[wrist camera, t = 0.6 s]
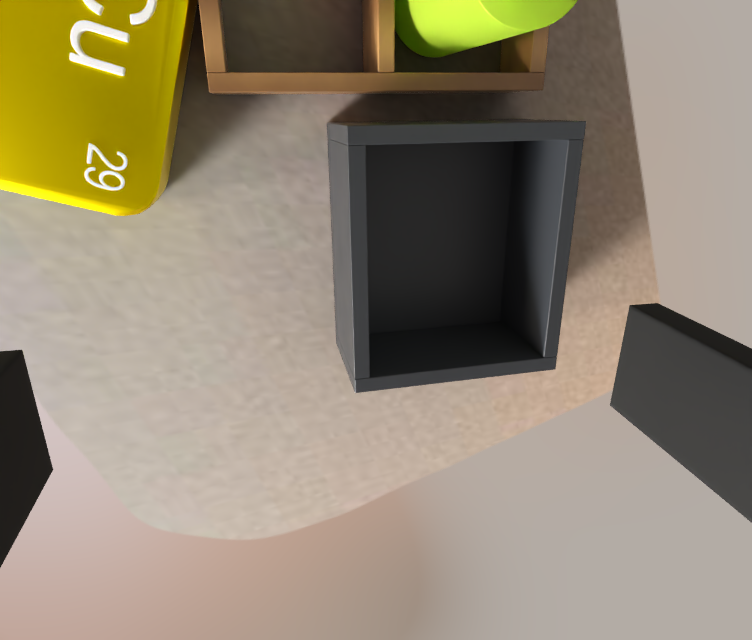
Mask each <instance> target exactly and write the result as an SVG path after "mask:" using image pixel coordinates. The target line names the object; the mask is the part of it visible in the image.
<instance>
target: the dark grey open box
mask: <svg viewBox="0 0 752 640" xmlns="http://www.w3.org/2000/svg"><path fill="white" fill-rule="evenodd" d="M585 126H586V121H567V120H533V119H504V120H446V121H389V122H331V123H327V133H328V157H329V180H330V204H331V227H332V250H333V274H334V297H335V321H336V343H337V346H338V348H339V351H340V354H341V356H342V359H343V362H344V364H345V367H346V370H347V372H348V375H349V378H350V381H351V383H352V386H353V389H354V391H355V393H359V392H367V391H376V390H384V389H392V388H401V387H409V386H418V385H426V384H435V383H443V382H452V381H460V380H469V379H477V378H486V377H494V376H503V375H511V374H520V373H528V372H536V371H545V370H553V369H555V367H556V359H557V357H556V356H557V352H558V344H559V335H560V327H561V319H562V311H563V303H564V295H565V287H566V279H567V271H568V263H569V255H570V246H571V238H572V230H573V222H574V214H575V206H576V198H577V190H578V182H579V174H580V166H581V157H582V149H583V141H584V140H583V139H584V135H585Z"/></svg>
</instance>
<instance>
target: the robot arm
mask: <svg viewBox="0 0 752 640" xmlns="http://www.w3.org/2000/svg"><path fill="white" fill-rule="evenodd" d="M610 406H612V407H613V408H614V409H615V410H616V411H618V412H619V413H620V414H621V415H622V416H624V417H625V418H626V419H627V420H628V421H630V422H631V423H632V424H633V425H635V426H636V427H637V428H638V429H639V430H641V431H642V432H643V433H644V434H645V435H647V436H648V437H649V438H650V439H651V440H653V441H654V442H655V443H656V444H657V445H659V446H660V447H661V448H662V449H664V450H665V451H666V452H667V453H668V454H670V455H671V456H672V457H673V458H674V459H676V460H677V461H678V462H679V463H680V464H682V465H683V466H684V467H685V468H686V469H688V470H689V471H690V472H691V473H692V474H694V475H695V476H696V477H697V478H699V479H700V480H701V481H702V482H703V483H705V484H706V485H707V486H708V487H709V488H711V489H712V490H713V491H714V492H715V493H717V494H718V495H719V496H720V497H721V498H723V499H724V500H725V501H726V502H728V503H729V504H730V505H731V506H732V507H734V508H735V509H736V510H737V511H738V512H740V513H741V514H742V515H743V516H744V517H746V518H747V519H748V520H749V521H750V522H752V349H751V348H749V347H747V346H745V345H743V344H741V343H739V342H737V341H735V340H733V339H731V338H728V337H726V336H724V335H722V334H720V333H718V332H716V331H714V330H712V329H710V328H708V327H706V326H704V325H702V324H699V323H697V322H695V321H693V320H691V319H689V318H687V317H685V316H683V315H681V314H678V313H676V312H674V311H672V310H670V309H668V308H666V307H664V306H662V305H660V304H658V303H654V304H641V305H630V307H629V312H628V317H627V322H626V327H625V332H624V337H623V342H622V347H621V352H620V357H619V362H618V367H617V373H616V378H615V383H614V388H613V393H612V398H611V403H610ZM52 471H53V468H52V464H51V460H50V456H49V453H48V448H47V444H46V441H45V437H44V433H43V429H42V425H41V421H40V417H39V414H38V410H37V406H36V402H35V398H34V394H33V390H32V386H31V382H30V378H29V375H28V371H27V367H26V363H25V359H24V355H23V351H22V350H14V351H1V352H0V567H1V565H2V564H3V562H4V560H5V558H6V556H7V554H8V552H9V550H10V549H11V547H12V545H13V543H14V541H15V539H16V538H17V536H18V534H19V532H20V530H21V528H22V526H23V525H24V523H25V521H26V519H27V517H28V515H29V513H30V511H31V510H32V508H33V506H34V504H35V502H36V500H37V499H38V497H39V495H40V493H41V491H42V489H43V487H44V486H45V484H46V482H47V480H48V478H49V476H50V474H51V473H52Z"/></svg>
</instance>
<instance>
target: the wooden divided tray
mask: <svg viewBox="0 0 752 640" xmlns="http://www.w3.org/2000/svg"><path fill="white" fill-rule="evenodd" d="M199 9H200V17H201V26H202V35H203V43H204V52H205V61H206V69H207V72H208V73H207V78H208V86H209V92H211V93H213V94H215V95H227V94H374V93H512V92H526V91H540V90H543V86H544V75H545V73H544V72H545V65H546V54H547V44H548V33H549V25H548V26H546V27H544V28H540V29H537V30H534V31H530V32H527V33H523V34H520V35H516V36H513V37H509V38H506V39H502V42H501V58H500V73H416V72H394V71H395V0H362V27H363V72H228V64H227V55H226V45H225V35H224V26H223V16H222V6H221V0H199Z"/></svg>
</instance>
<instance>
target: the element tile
mask: <svg viewBox="0 0 752 640" xmlns="http://www.w3.org/2000/svg"><path fill="white" fill-rule="evenodd" d="M197 2H198V0H0V189H2V190H7V191H11V192H15V193H20V194H24V195H29V196H33V197H37V198H42V199H46V200H51V201H55V202H59V203H64V204H68V205H73V206H77V207H81V208H86V209H90V210H95V211H99V212H103V213H108V214H112V215H116V216H128V215H135V214H140V213H141V212H143V211H145V210H146V209H148V208H149V207H150V206H151V205H153V204H154V203H155V202H156V201H157V200H158V199H159V197H160V196H161V194H162V193H163V192H164V190H165V188H166V185H167V183H168V179H169V173H170V167H171V160H172V154H173V148H174V142H175V136H176V130H177V124H178V118H179V112H180V105H181V99H182V93H183V87H184V81H185V75H186V69H187V63H188V57H189V50H190V44H191V38H192V32H193V26H194V20H195V14H196V8H197Z"/></svg>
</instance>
